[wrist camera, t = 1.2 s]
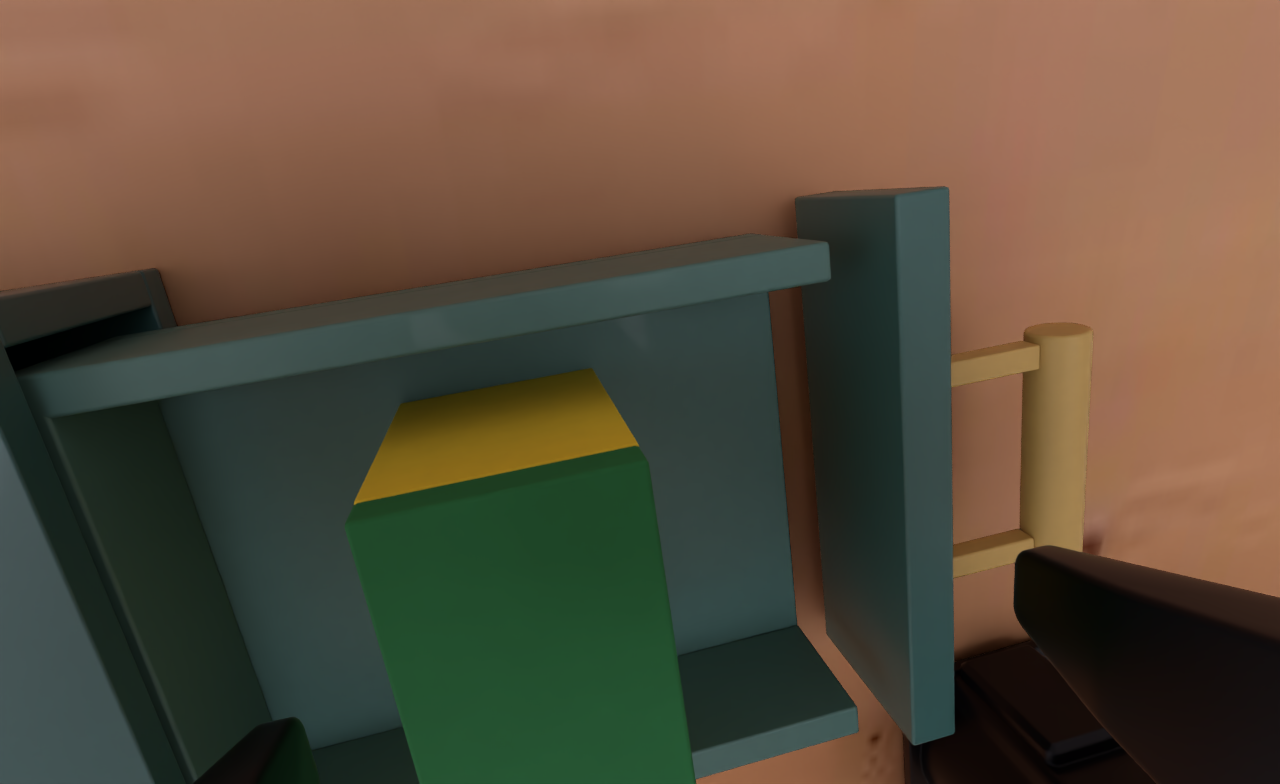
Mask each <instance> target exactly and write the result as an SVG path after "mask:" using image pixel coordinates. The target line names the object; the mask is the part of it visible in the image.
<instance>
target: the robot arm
mask: <svg viewBox="0 0 1280 784" xmlns="http://www.w3.org/2000/svg"><path fill="white" fill-rule="evenodd" d="M1014 611H1015V614H1016V617H1017V619H1018V621H1019V623H1020V624H1021V626H1022V627H1023V629H1024V630H1025V631H1026V632H1027V634H1028V635H1029V636H1030V637H1031V639H1032V640H1031V641H1028V642H1024V643H1021V644H1017V645H1014V646H1010V647H1006V648H1003V649H999V650H996V651H992V652H988V653H985V654H981V655H978V656H974V657H970V658H967V659H963V660H960V661H956V662H954V696H955V733H954V734H952V735H949V736H946V737H942V738H939V739H935V740H932V741H929V742H925V743H922V744H919V745H913V744H912V743H911V742H910V741H909V739H908V738H907V737H906V736H905V734H904V733H903V741H904V768H905V784H1280V598H1279V597H1275V596H1270V595H1266V594H1262V593H1257V592H1253V591H1248V590H1244V589H1240V588H1235V587H1231V586H1227V585H1222V584H1218V583H1214V582H1209V581H1205V580H1201V579H1196V578H1192V577H1188V576H1183V575H1179V574H1175V573H1170V572H1166V571H1162V570H1157V569H1153V568H1149V567H1144V566H1140V565H1136V564H1131V563H1127V562H1123V561H1118V560H1114V559H1110V558H1105V557H1101V556H1097V555H1092V554H1088V553H1083V552H1079V551H1075V550H1070V549H1066V548H1062V547H1057V546H1052V545H1045V546H1040V547H1036V548H1032V549H1027V550H1023V551H1022V552H1020V553H1019V554H1018V556H1017V558H1016V561H1015V578H1014ZM193 784H320V779H319V774H318V770H317V767H316V764H315V761H314V757H313V754H312V751H311V747H310V744H309V741H308V738H307V734H306V731H305V728H304V726H303V724H302V722H301V721H300V719H298V718H296V717H288V718H284V719H279V720H275V721H270V722H266V723H262V724H259V725H258V726H256V727H255V728H253V729H252V730H251V731H250V732H249V733H248V734H247V735H246V736H245V737H243V738H242V739H241V740H240V741H239V742H238V743H237V744H236V745H235V746H233V747H232V748H231V749H230V750H229V751H228V752H227V753H226V754H225V755H224V756H222V757H221V758H220V759H219V760H218V761H217V762H216V763H215V764H214V765H213V766H211V767H210V768H209V769H208V770H207V771H206V772H205V773H204V774H203V775H202V776H200V777H199V778H198V779H197V780H196V781H195V782H194V783H193Z"/></svg>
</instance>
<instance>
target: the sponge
mask: <svg viewBox="0 0 1280 784" xmlns="http://www.w3.org/2000/svg"><path fill="white" fill-rule="evenodd" d="M344 528H345V531H346V534H347V538H348V541H349V545H350V548H351V552H352V555H353V558H354V562H355V565H356V569H357V572H358V575H359V579H360V582H361V586H362V589H363V592H364V596H365V599H366V603H367V606H368V609H369V613H370V616H371V620H372V623H373V627H374V630H375V633H376V637H377V640H378V644H379V647H380V650H381V654H382V657H383V661H384V664H385V667H386V671H387V674H388V678H389V681H390V684H391V688H392V691H393V695H394V698H395V702H396V705H397V708H398V712H399V715H400V719H401V722H402V725H403V729H404V732H405V736H406V739H407V742H408V746H409V749H410V753H411V756H412V759H413V763H414V766H415V770H416V773H417V776H418V780H419V783H420V784H696V779H695V773H694V766H693V759H692V752H691V746H690V739H689V732H688V725H687V718H686V712H685V705H684V698H683V691H682V684H681V678H680V671H679V664H678V657H677V651H676V644H675V637H674V630H673V623H672V617H671V610H670V603H669V596H668V589H667V583H666V576H665V569H664V562H663V556H662V549H661V542H660V535H659V528H658V522H657V515H656V508H655V501H654V494H653V488H652V481H651V474H650V467H649V462H648V461H647V459H646V457H645V456H644V454H643V452H642V451H641V449H640V448H639V444H638V443H637V441H636V439H635V438H634V436H633V435H632V433H631V431H630V430H629V428H628V426H627V425H626V423H625V421H624V420H623V418H622V417H621V415H620V413H619V412H618V410H617V408H616V407H615V405H614V403H613V402H612V400H611V398H610V397H609V395H608V394H607V392H606V390H605V389H604V387H603V385H602V384H601V382H600V380H599V379H598V377H597V375H596V374H595V372H594V371H593V369H592V368H588V369H583V370H578V371H572V372H567V373H562V374H556V375H551V376H546V377H540V378H535V379H530V380H524V381H519V382H514V383H508V384H503V385H498V386H492V387H487V388H482V389H476V390H471V391H466V392H460V393H455V394H450V395H444V396H439V397H433V398H428V399H423V400H417V401H412V402H407V403H402V404H400V406H399V408H398V410H397V412H396V414H395V417H394V419H393V421H392V423H391V425H390V427H389V429H388V431H387V434H386V436H385V438H384V440H383V442H382V444H381V446H380V448H379V450H378V453H377V455H376V457H375V459H374V461H373V463H372V465H371V467H370V469H369V472H368V474H367V476H366V478H365V480H364V482H363V484H362V486H361V488H360V491H359V493H358V495H357V497H356V499H355V501H354V506H353V508H352V510H351V512H350V514H349V516H348V518H347V520H346V523H345V527H344Z"/></svg>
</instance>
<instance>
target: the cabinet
mask: <svg viewBox="0 0 1280 784" xmlns="http://www.w3.org/2000/svg"><path fill="white" fill-rule="evenodd" d="M171 327H177V325H176V322H175V319H174V316H173V313H172V310H171V307H170V304H169V301H168V298H167V295H166V292H165V290H164V287H163V284H162V281H161V278H160V275H159V272H158V270H157V269H155V268H152V269H145V270H138V271H132V272H125V273H118V274H112V275H105V276H98V277H91V278H85V279H78V280H71V281H65V282H58V283H51V284H44V285H38V286H31V287H24V288H18V289H11V290H4V291H0V784H186V783H185V780H184V778H183V776H182V773H181V771H180V768H179V766H178V764H177V761H176V759H175V756H174V754H173V752H172V749H171V747H170V744H169V742H168V740H167V737H166V735H165V732H164V730H163V728H162V725H161V723H160V720H159V718H158V716H157V713H156V711H155V708H154V706H153V704H152V701H151V699H150V696H149V694H148V692H147V689H146V687H145V684H144V682H143V680H142V677H141V675H140V672H139V670H138V668H137V665H136V663H135V660H134V658H133V656H132V653H131V651H130V648H129V646H128V644H127V641H126V639H125V636H124V634H123V632H122V629H121V627H120V624H119V622H118V620H117V617H116V615H115V612H114V610H113V608H112V605H111V603H110V600H109V598H108V596H107V593H106V591H105V588H104V586H103V584H102V581H101V579H100V576H99V574H98V572H97V569H96V567H95V564H94V562H93V560H92V557H91V555H90V552H89V550H88V548H87V545H86V543H85V540H84V538H83V536H82V533H81V531H80V528H79V526H78V524H77V521H76V519H75V516H74V514H73V512H72V509H71V507H70V504H69V502H68V500H67V497H66V495H65V492H64V490H63V488H62V485H61V483H60V480H59V478H58V476H57V473H56V471H55V468H54V466H53V464H52V461H51V459H50V456H49V454H48V452H47V449H46V447H45V444H44V442H43V440H42V437H41V435H40V432H39V430H38V428H37V425H36V423H35V420H34V418H33V416H32V413H31V411H30V409H29V406H28V404H27V401H26V399H25V397H24V394H23V392H22V389H21V387H20V385H19V382H18V380H17V377H16V375H15V373H14V371H17V370H20V369H23V368H26V367H29V366H32V365H35V364H38V363H41V362H43V361H46V360H49V359H52V358H55V357H58V356H61V355H64V354H67V353H70V352H73V351H75V350H78V349H81V348H84V347H87V346H90V345H93V344H96V343H99V342H101V341H104V340H107V339H110V338H113V337H116V336H122V335H128V334H134V333H140V332H146V331H153V330H159V329H165V328H171Z"/></svg>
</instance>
